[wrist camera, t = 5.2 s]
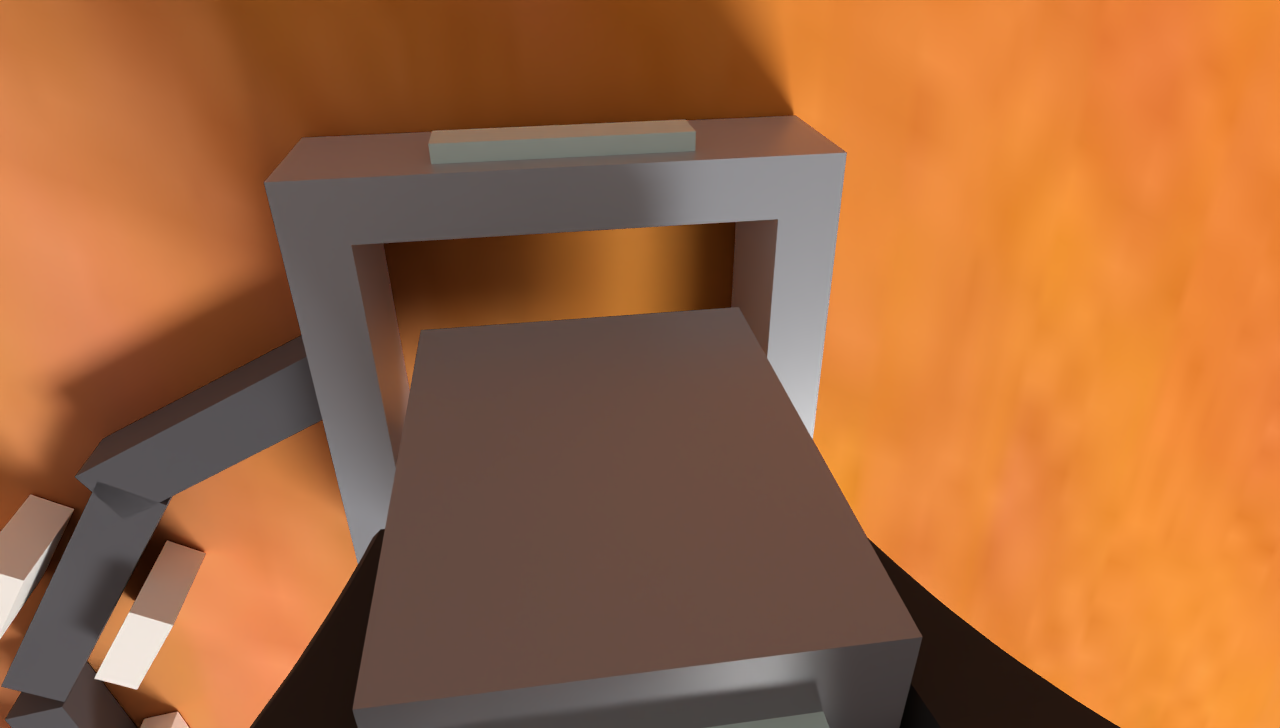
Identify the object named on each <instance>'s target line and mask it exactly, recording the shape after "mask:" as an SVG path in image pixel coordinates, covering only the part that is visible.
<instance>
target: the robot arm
mask: <svg viewBox="0 0 1280 728" xmlns="http://www.w3.org/2000/svg"><path fill="white" fill-rule="evenodd" d="M384 532H385V529H380V530H379V531H378V532H377V533H376V535H375V536H374V537H373V538H372V540H371V542H370V544H369V545H368V547H367V549H366V551H365V553H364V555H363V556H362V558H361V560H360V562H359V563H358V565H357V567H356V569H355V571H354V572H353V574H352V576H351V577H350V579H349V581H348V583H347V584H346V586H345V588H344V589H343V591H342V593H341V594H340V596H339V598H338V599H337V601H336V602H335V604H334V606H333V607H332V609H331V611H330V612H329V614H328V615H327V617H326V619H325V620H324V622H323V623H322V625H321V626H320V628H319V629H318V631H317V632H316V634H315V635H314V637H313V638H312V640H311V641H310V643H309V645H308V646H307V648H306V649H305V651H304V652H303V654H302V655H301V657H300V658H299V660H298V661H297V663H296V664H295V666H294V667H293V669H292V670H291V672H290V673H289V674H288V676H287V677H286V679H285V680H284V681H283V683H282V684H281V685H280V687H279V688H278V690H277V691H276V692H275V694H274V695H273V696H272V698H271V699H270V701H269V702H268V703H267V705H266V706H265V707H264V709H263V710H262V712H261V713H260V714H259V716H258V717H257V718H256V720H255V721H254V722H253V724H252V725H251V727H250V728H358V727H357V724H356V720H355V717H354V714H353V710H352V709H353V703H354V698H355V692H356V687H357V681H358V676H359V670H360V665H361V659H362V654H363V648H364V642H365V637H366V631H367V626H368V620H369V615H370V609H371V604H372V598H373V593H374V587H375V582H376V576H377V570H378V565H379V559H380V554H381V548H382V543H383V537H384ZM868 540H869V542H870V543H871V545H872V547H873V549H874V551H875V552H876V554H877V556H878V558H879V560H880V561H881V563H882V565H883V567H884V569H885V570H886V572H887V574H888V576H889V578H890V579H891V581H892V583H893V585H894V587H895V588H896V590H897V592H898V594H899V595H900V597H901V599H902V601H903V603H904V604H905V606H906V608H907V610H908V612H909V613H910V615H911V617H912V619H913V621H914V622H915V624H916V626H917V628H918V630H919V631H920V633H921V635H922V641H921V645H920V649H919V653H918V657H917V661H916V665H915V668H914V672H913V676H912V680H911V684H910V688H909V692H908V696H907V700H906V704H905V708H904V712H903V715H902V719H901V723H900V727H899V728H1120V727H1119V726H1117V725H1115V724H1113V723H1112V722H1110V721H1108V720H1107V719H1105V718H1103V717H1102V716H1100V715H1099V714H1097V713H1095V712H1094V711H1092V710H1091V709H1089V708H1087V707H1086V706H1084V705H1083V704H1081V703H1080V702H1078V701H1076V700H1075V699H1073V698H1072V697H1070V696H1069V695H1067V694H1066V693H1064V692H1063V691H1061V690H1060V689H1058V688H1057V687H1055V686H1054V685H1052V684H1051V683H1050V682H1048V681H1047V680H1045V679H1044V678H1042V677H1041V676H1039V675H1038V674H1036V673H1035V672H1033V671H1032V670H1030V669H1029V668H1027V667H1026V666H1024V665H1023V664H1022V663H1020V662H1019V661H1017V660H1016V659H1014V658H1013V657H1012V656H1010V655H1009V654H1008V653H1006V652H1005V651H1003V650H1002V649H1001V648H999V647H998V646H997V645H995V644H994V643H992V642H991V641H990V640H989V639H987V638H986V637H985V636H983V635H982V634H981V633H980V632H978V631H977V630H976V629H974V628H973V627H972V626H971V625H969V624H968V623H967V622H965V621H964V620H963V619H962V618H960V617H959V616H958V615H956V614H955V613H954V612H952V611H951V610H950V609H949V608H948V607H946V606H945V605H944V604H943V603H941V602H940V601H939V600H938V599H937V598H935V597H934V596H933V595H932V594H931V593H930V592H928V591H927V590H926V589H925V588H924V587H923V586H921V585H920V584H919V583H918V582H917V581H916V580H914V579H913V578H912V577H911V576H910V575H909V574H907V573H906V572H905V571H904V570H903V569H902V568H901V567H899V566H898V565H897V564H896V563H895V562H894V561H893V560H892V559H890V558H889V557H888V556H887V555H886V554H885V553H884V552H883V551H881V550H880V549H879V548H878V547H877V546H876V545H875V544H874V543H873V542H872V541H871V540H870V539H868Z"/></svg>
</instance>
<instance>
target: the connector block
mask: <svg viewBox="0 0 1280 728" xmlns="http://www.w3.org/2000/svg"><path fill="white" fill-rule="evenodd" d="M921 641H922V635H921V633H920V631H919V630H918V628H917V626H916V624H915V622H914V621H913V619H912V617H911V615H910V613H909V612H908V610H907V608H906V606H905V604H904V603H903V601H902V599H901V597H900V595H899V594H898V592H897V590H896V588H895V587H894V585H893V583H892V581H891V579H890V578H889V576H888V574H887V572H886V570H885V569H884V567H883V565H882V563H881V561H880V560H879V558H878V556H877V554H876V552H875V551H874V549H873V547H872V545H871V543H870V542H869V540H868V538H867V536H866V534H865V533H864V531H863V529H862V527H861V525H860V524H859V522H858V520H857V518H856V516H855V515H854V513H853V511H852V509H851V508H850V506H849V504H848V502H847V500H846V499H845V497H844V495H843V493H842V491H841V490H840V488H839V486H838V484H837V482H836V481H835V479H834V477H833V475H832V473H831V472H830V470H829V468H828V466H827V464H826V463H825V461H824V459H823V457H822V455H821V454H820V452H819V450H818V448H817V446H816V445H815V443H814V441H813V439H812V438H811V436H810V434H809V432H808V430H807V429H806V427H805V425H804V423H803V421H802V420H801V418H800V416H799V414H798V412H797V411H796V409H795V407H794V405H793V403H792V402H791V400H790V398H789V396H788V394H787V393H786V391H785V389H784V387H783V385H782V384H781V382H780V380H779V378H778V376H777V375H776V373H775V371H774V369H773V367H772V366H771V364H770V362H769V360H768V359H767V357H766V355H765V353H764V351H763V350H762V348H761V346H760V344H759V342H758V341H757V339H756V337H755V335H754V333H753V332H752V330H751V328H750V326H749V324H748V323H747V321H746V319H745V317H744V315H743V314H742V312H741V310H740V308H739V307H733V308H719V309H705V310H691V311H678V312H664V313H650V314H636V315H623V316H609V317H595V318H581V319H568V320H554V321H540V322H526V323H513V324H499V325H485V326H472V327H458V328H444V329H430V330H421V332H420V338H419V343H418V349H417V354H416V360H415V365H414V371H413V377H412V382H411V388H410V393H409V399H408V404H407V410H406V415H405V421H404V426H403V432H402V438H401V443H400V449H399V454H398V460H397V465H396V471H395V476H394V482H393V487H392V493H391V498H390V504H389V510H388V515H387V521H386V526H385V532H384V537H383V543H382V548H381V554H380V559H379V565H378V570H377V576H376V582H375V587H374V593H373V598H372V604H371V609H370V615H369V620H368V626H367V631H366V637H365V642H364V648H363V654H362V659H361V665H360V670H359V676H358V681H357V687H356V692H355V698H354V703H353V709H352V710H353V714H354V717H355V720H356V724H357V727H358V728H899V727H900V723H901V719H902V715H903V712H904V708H905V704H906V700H907V696H908V692H909V688H910V684H911V680H912V676H913V672H914V668H915V665H916V661H917V657H918V653H919V649H920V645H921Z"/></svg>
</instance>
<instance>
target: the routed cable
mask: <svg viewBox="0 0 1280 728" xmlns="http://www.w3.org/2000/svg"><path fill="white" fill-rule="evenodd" d="M321 420H322V416H321V412H320V408H319V404H318V400H317V396H316V392H315V388H314V384H313V380H312V376H311V371H310V367H309V363H308V359H307V355H306V351H305V347H304V343H303V339H302V335H301V336H299V337H297V338H295V339H294V340H292V341H290V342H288V343H286V344H284V345H282V346H280V347H278V348H276V349H274V350H272V351H270V352H269V353H267V354H265V355H263V356H261V357H259V358H257V359H255V360H253V361H251V362H249V363H247V364H246V365H244V366H242V367H240V368H238V369H236V370H234V371H232V372H230V373H228V374H226V375H224V376H223V377H221V378H219V379H217V380H215V381H213V382H211V383H209V384H207V385H205V386H203V387H201V388H200V389H198V390H196V391H194V392H192V393H190V394H188V395H186V396H184V397H182V398H180V399H178V400H176V401H175V402H173V403H171V404H169V405H167V406H165V407H163V408H161V409H159V410H157V411H155V412H153V413H152V414H150V415H148V416H146V417H144V418H142V419H140V420H138V421H136V422H134V423H132V424H130V425H129V426H127V427H125V428H123V429H121V430H119V431H117V432H115V433H113V434H111V435H109V436H107V437H105V438H104V439H102V441H101V442H100V443H99V445H98V446H97V447H96V449H95V450H94V451H93V453H92V454H91V456H90V457H89V458H88V460H87V461H86V462H85V464H84V465H83V466H82V468H81V469H80V470H79V472H78V473H77V474H76V476H75V478H77V479H78V480H79V481H80V482H81V483H82V484H83V485H85V486H86V487H87V488H88V489H89V490H90V491H91V492H92V494H91V496H90V498H89V500H88V503H87V505H86V507H85V509H84V511H83V513H82V515H81V518H80V520H79V522H78V524H77V526H76V528H75V530H74V532H73V535H72V537H71V539H70V541H69V543H68V545H67V547H66V549H65V552H64V554H63V556H62V558H61V560H60V562H59V564H58V566H57V569H56V571H55V573H54V575H53V577H52V579H51V581H50V583H49V586H48V588H47V590H46V592H45V594H44V596H43V598H42V601H41V603H40V605H39V607H38V609H37V611H36V613H35V615H34V618H33V620H32V622H31V624H30V626H29V628H28V630H27V632H26V635H25V637H24V639H23V641H22V643H21V645H20V647H19V649H18V652H17V654H16V656H15V658H14V660H13V662H12V664H11V666H10V669H9V671H8V673H7V675H6V677H5V679H4V681H3V683H2V686H1V687H5V688H9V689H13V690H17V691H21V694H20V696H19V697H18V699H17V700H16V702H15V704H14V705H13V707H12V709H11V710H10V712H9V714H8V715H7V717H6V719H5V721H6V722H7V723H8V724H9V725H10V726H11V727H12V728H137V727H136V726H135V725H134V723H133V722H132V721H131V719H130V718H129V717H128V715H127V714H126V713H125V711H124V710H123V709H122V707H121V706H120V705H119V703H118V702H117V701H116V699H115V698H114V697H113V696H112V694H111V693H110V692H109V690H108V689H107V688H106V686H105V685H104V684H103V682H102V681H106V682H110V683H113V684H117V685H121V686H125V687H129V688H133V689H138V687H139V685H140V684H141V682H142V680H143V678H144V676H145V675H146V673H147V671H148V669H149V668H150V666H151V664H152V662H153V660H154V659H155V657H156V655H157V653H158V652H159V650H160V648H161V646H162V644H163V643H164V641H165V639H166V637H167V636H168V634H169V632H170V630H171V628H172V627H173V625H174V623H175V620H176V618H177V616H178V614H179V612H180V609H181V607H182V605H183V603H184V601H185V598H186V596H187V594H188V592H189V590H190V587H191V585H192V583H193V581H194V579H195V576H196V574H197V572H198V570H199V568H200V565H201V563H202V561H203V559H204V557H205V554H206V553H204V552H201V551H198V550H195V549H192V548H189V547H186V546H183V545H179V544H176V543H173V542H170V541H166V543H165V545H164V547H163V549H162V551H161V553H160V555H159V557H158V558H157V560H156V562H155V564H154V566H153V568H152V570H151V572H150V574H149V575H148V577H147V579H146V581H145V583H144V585H143V587H142V589H141V591H140V592H139V594H138V596H137V598H136V600H135V602H134V604H133V606H132V608H131V609H130V611H129V613H128V615H127V617H126V619H125V621H124V623H123V625H122V627H121V628H120V630H119V632H118V634H117V636H116V638H115V640H114V642H113V644H112V646H111V647H110V649H109V651H108V653H107V655H106V657H105V659H104V661H103V663H102V665H101V667H100V668H99V670H98V672H97V674H96V673H95V672H94V670H93V669H92V668H91V666H90V665H89V664H88V662H87V660H88V658H89V656H90V654H91V652H92V650H93V648H94V647H95V645H96V643H97V641H98V639H99V637H100V635H101V633H102V631H103V629H104V627H105V625H106V623H107V621H108V620H109V618H110V616H111V614H112V612H113V610H114V608H115V606H116V604H117V602H118V600H119V598H120V596H121V595H122V593H123V591H124V589H125V587H126V585H127V583H128V581H129V579H130V577H131V575H132V573H133V571H134V569H135V568H136V566H137V564H138V562H139V560H140V558H141V556H142V554H143V552H144V550H145V548H146V546H147V544H148V542H149V541H150V539H151V537H152V535H153V533H154V531H155V529H156V527H157V525H158V523H159V521H160V519H161V517H162V515H163V514H164V512H165V510H166V508H167V506H168V504H169V502H170V500H171V498H172V496H173V495H175V494H177V493H179V492H181V491H183V490H185V489H187V488H189V487H191V486H193V485H195V484H197V483H199V482H201V481H203V480H205V479H207V478H209V477H211V476H213V475H215V474H217V473H219V472H221V471H223V470H225V469H227V468H229V467H230V466H232V465H234V464H236V463H238V462H240V461H242V460H244V459H246V458H248V457H250V456H252V455H254V454H256V453H258V452H260V451H262V450H264V449H266V448H268V447H270V446H272V445H274V444H276V443H278V442H280V441H282V440H284V439H286V438H288V437H290V436H292V435H294V434H296V433H297V432H299V431H301V430H303V429H305V428H307V427H309V426H311V425H313V424H315V423H317V422H319V421H321ZM73 511H74V509H73V508H70V507H67V506H64V505H61V504H58V503H55V502H52V501H49V500H46V499H43V498H40V497H37V496H34V495H31V494H30V496H29V497H28V498H27V499H26V501H25V502H24V503H23V504H22V506H21V507H20V508H19V509H18V511H17V512H16V513H15V514H14V516H13V517H12V518H11V519H10V521H9V522H8V523H7V524H6V526H5V527H4V528H3V529H2V531H1V532H0V639H1V637H2V636H3V634H4V633H5V631H6V630H7V628H8V627H9V625H10V624H11V622H12V621H13V620H14V618H15V617H16V615H17V614H18V612H19V611H20V609H21V608H22V606H23V605H24V603H25V602H26V600H27V599H28V598H29V596H30V595H31V593H32V592H33V590H34V589H35V587H36V586H37V584H38V583H39V581H40V580H41V578H42V577H43V576H44V573H45V571H46V569H47V567H48V565H49V563H50V560H51V558H52V556H53V554H54V552H55V550H56V548H57V545H58V543H59V541H60V539H61V537H62V535H63V532H64V530H65V528H66V526H67V524H68V522H69V520H70V517H71V515H72V513H73ZM101 680H102V681H101ZM140 728H189V727H188V725H187V724H186V722H185V721H184V720H183V718H182V717H181V715H180V714H179V712H178V711H177V712H173V713H168V714H164V715H159V716H155V717H150V718H146V719H144V720H143V723H142V725H141V727H140Z"/></svg>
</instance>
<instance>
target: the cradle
mask: <svg viewBox="0 0 1280 728" xmlns="http://www.w3.org/2000/svg"><path fill="white" fill-rule="evenodd" d="M846 154H847V152H845V151H844V150H842V149H841V148H840V147H838V146H837V145H836V144H834V143H833V142H831V141H830V140H829V139H827V138H826V137H825V136H823V135H822V134H820V133H819V132H818V131H816V130H815V129H813V128H812V127H811V126H809V125H808V124H807V123H805V122H804V121H802V120H801V119H800V118H798V117H797V116H796V115H795V116H772V117H750V118H728V119H705V120H686V119H683V120H660V121H638V122H616V123H593V124H571V125H548V126H526V127H503V128H481V129H459V130H436V131H432V132H415V133H393V134H370V135H348V136H325V137H303V138H301V139H300V140H299V142H298V143H297V144H296V145H295V146H294V148H293V149H292V150H291V151H290V152H289V153H288V155H287V156H286V157H285V158H284V159H283V160H282V162H281V163H280V164H279V165H278V166H277V167H276V169H275V170H274V171H273V172H272V173H271V175H270V176H269V177H268V178H267V179H266V180H265V182H264V185H265V189H266V193H267V197H268V201H269V205H270V209H271V213H272V217H273V222H274V226H275V230H276V234H277V238H278V242H279V246H280V250H281V254H282V258H283V262H284V266H285V270H286V274H287V278H288V282H289V286H290V290H291V294H292V299H293V303H294V307H295V311H296V315H297V319H298V323H299V327H300V331H301V335H302V339H303V343H304V347H305V351H306V355H307V359H308V363H309V367H310V371H311V376H312V380H313V384H314V388H315V392H316V396H317V400H318V404H319V408H320V412H321V416H322V420H323V424H324V428H325V432H326V436H327V440H328V444H329V448H330V453H331V457H332V461H333V465H334V469H335V473H336V477H337V481H338V485H339V489H340V493H341V497H342V501H343V505H344V509H345V513H346V517H347V521H348V525H349V530H350V534H351V538H352V542H353V546H354V550H355V554H356V558H357V562H358V563H359V562H360V560H361V558H362V556H363V555H364V553H365V551H366V549H367V547H368V545H369V544H370V542H371V540H372V538H373V537H374V536H375V535H376V533H377V532H378V531H379V530H380V529H385V526H386V521H387V515H388V510H389V504H390V498H391V493H392V487H393V482H394V476H395V471H396V465H397V460H398V454H399V449H400V443H401V438H402V432H403V426H404V421H405V415H406V410H407V404H408V399H409V393H410V390H409V384H408V379H407V373H406V368H405V362H404V356H403V351H402V345H401V340H400V334H399V328H398V323H397V317H396V311H395V306H394V300H393V295H392V289H391V283H390V278H389V272H388V267H387V261H386V255H385V250H384V244H383V243H395V242H412V241H428V240H445V239H461V238H477V237H494V236H510V235H527V234H543V233H559V232H576V231H592V230H609V229H625V228H641V227H658V226H674V225H691V224H707V223H723V222H736V227H735V246H734V265H733V284H732V303H731V308H733V307H739V308H740V310H741V312H742V314H743V315H744V317H745V319H746V321H747V323H748V324H749V326H750V328H751V330H752V332H753V333H754V335H755V337H756V339H757V341H758V342H759V344H760V346H761V348H762V350H763V351H764V353H765V355H766V357H767V359H768V360H769V362H770V364H771V366H772V367H773V369H774V371H775V373H776V375H777V376H778V378H779V380H780V382H781V384H782V385H783V387H784V389H785V391H786V393H787V394H788V396H789V398H790V400H791V402H792V403H793V405H794V407H795V409H796V411H797V412H798V414H799V416H800V418H801V420H802V421H803V423H804V425H805V427H806V429H807V430H808V432H809V434H810V436H811V438H812V439H813V432H814V424H815V415H816V407H817V399H818V390H819V382H820V373H821V365H822V357H823V348H824V340H825V331H826V323H827V314H828V306H829V298H830V289H831V281H832V272H833V264H834V256H835V247H836V239H837V230H838V222H839V213H840V205H841V197H842V188H843V180H844V171H845V163H846Z"/></svg>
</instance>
